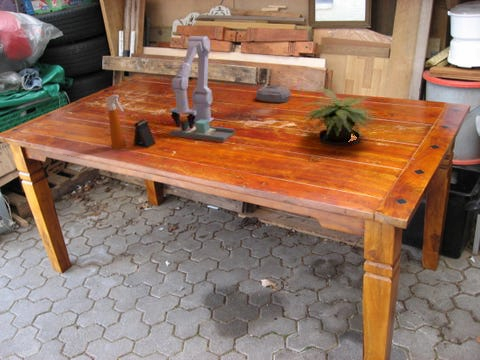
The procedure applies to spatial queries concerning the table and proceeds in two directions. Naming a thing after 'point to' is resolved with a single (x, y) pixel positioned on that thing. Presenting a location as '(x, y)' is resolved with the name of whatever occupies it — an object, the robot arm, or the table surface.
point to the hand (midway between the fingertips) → (184, 127)
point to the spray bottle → (115, 123)
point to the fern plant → (340, 120)
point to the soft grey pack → (273, 94)
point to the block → (202, 126)
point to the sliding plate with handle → (186, 128)
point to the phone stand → (143, 135)
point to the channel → (218, 135)
